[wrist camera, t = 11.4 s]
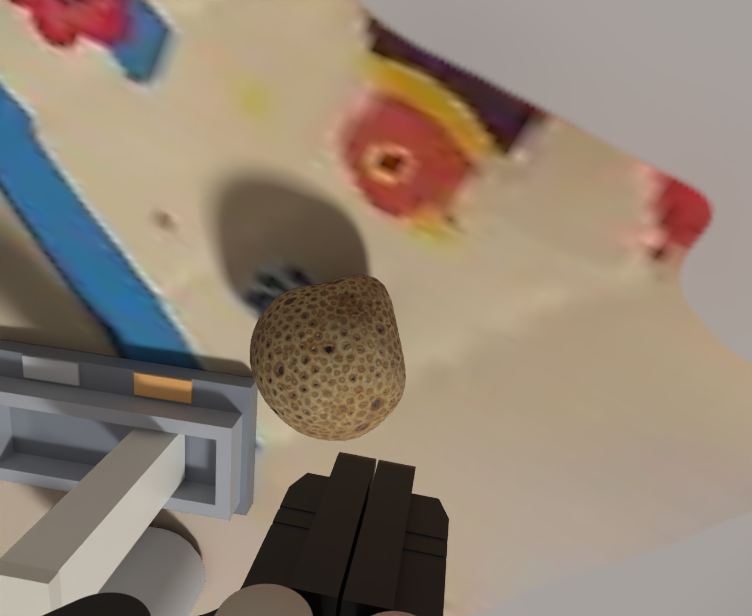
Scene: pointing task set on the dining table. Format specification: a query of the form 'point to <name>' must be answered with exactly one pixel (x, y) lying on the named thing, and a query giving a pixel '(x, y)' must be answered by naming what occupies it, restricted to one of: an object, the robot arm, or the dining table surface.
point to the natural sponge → (330, 357)
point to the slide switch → (125, 422)
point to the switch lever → (92, 525)
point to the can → (160, 573)
